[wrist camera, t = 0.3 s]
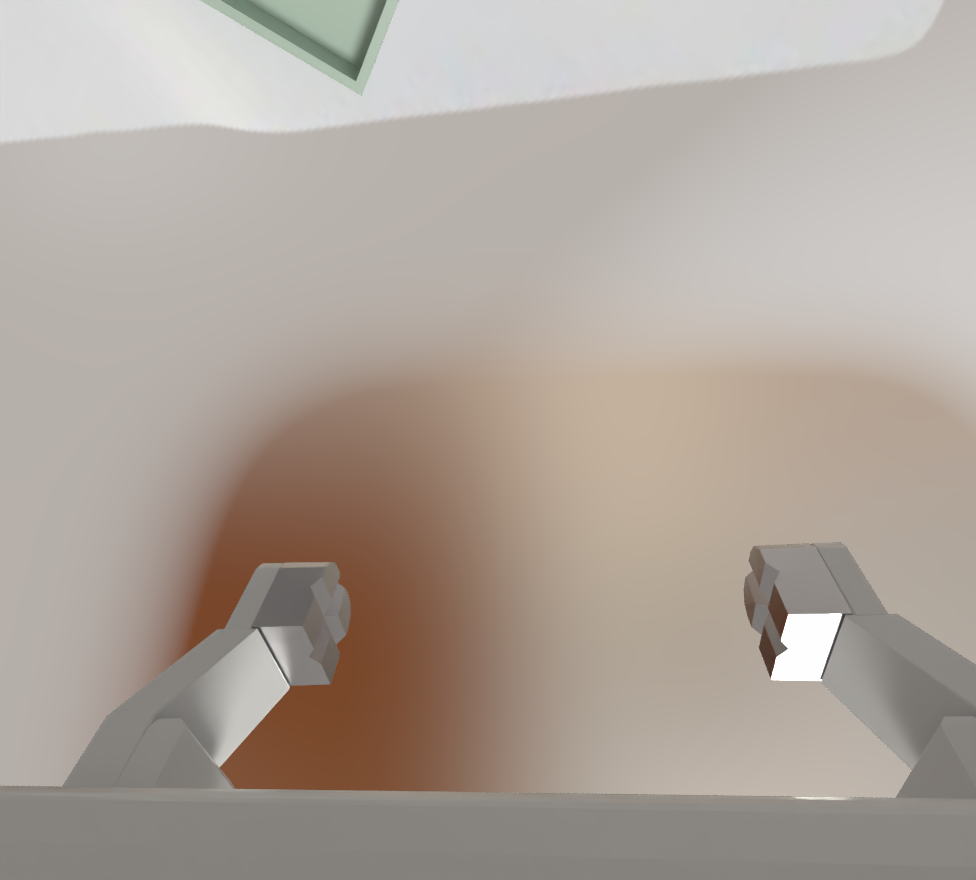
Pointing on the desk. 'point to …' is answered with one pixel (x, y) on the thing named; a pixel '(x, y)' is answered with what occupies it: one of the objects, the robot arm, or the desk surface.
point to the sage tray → (320, 31)
